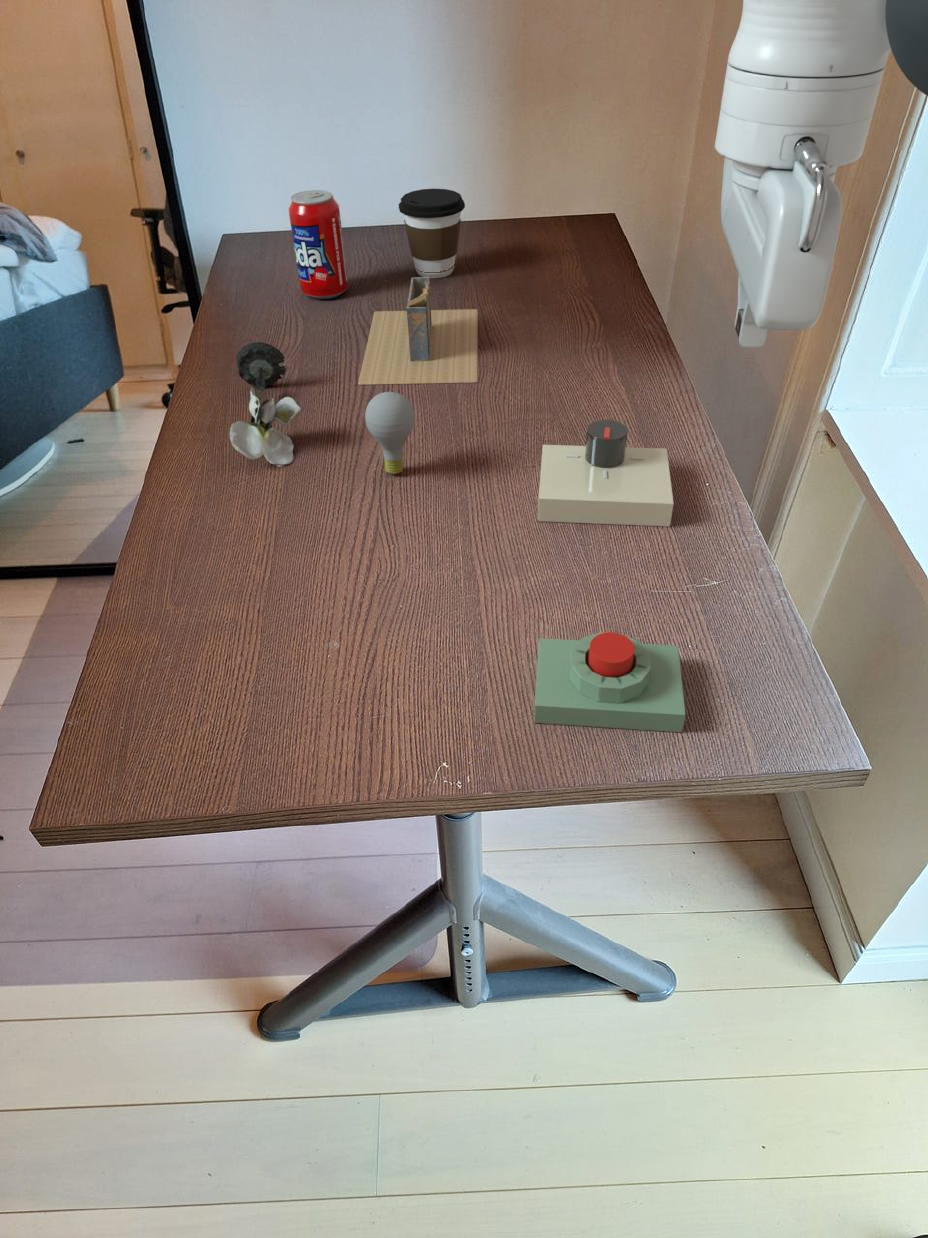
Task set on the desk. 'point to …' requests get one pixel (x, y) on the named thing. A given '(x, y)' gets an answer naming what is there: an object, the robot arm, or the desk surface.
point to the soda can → (318, 244)
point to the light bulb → (390, 426)
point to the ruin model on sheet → (421, 343)
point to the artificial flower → (263, 407)
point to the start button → (611, 654)
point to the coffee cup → (432, 229)
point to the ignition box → (609, 688)
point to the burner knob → (606, 443)
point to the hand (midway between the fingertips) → (748, 338)
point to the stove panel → (605, 488)
